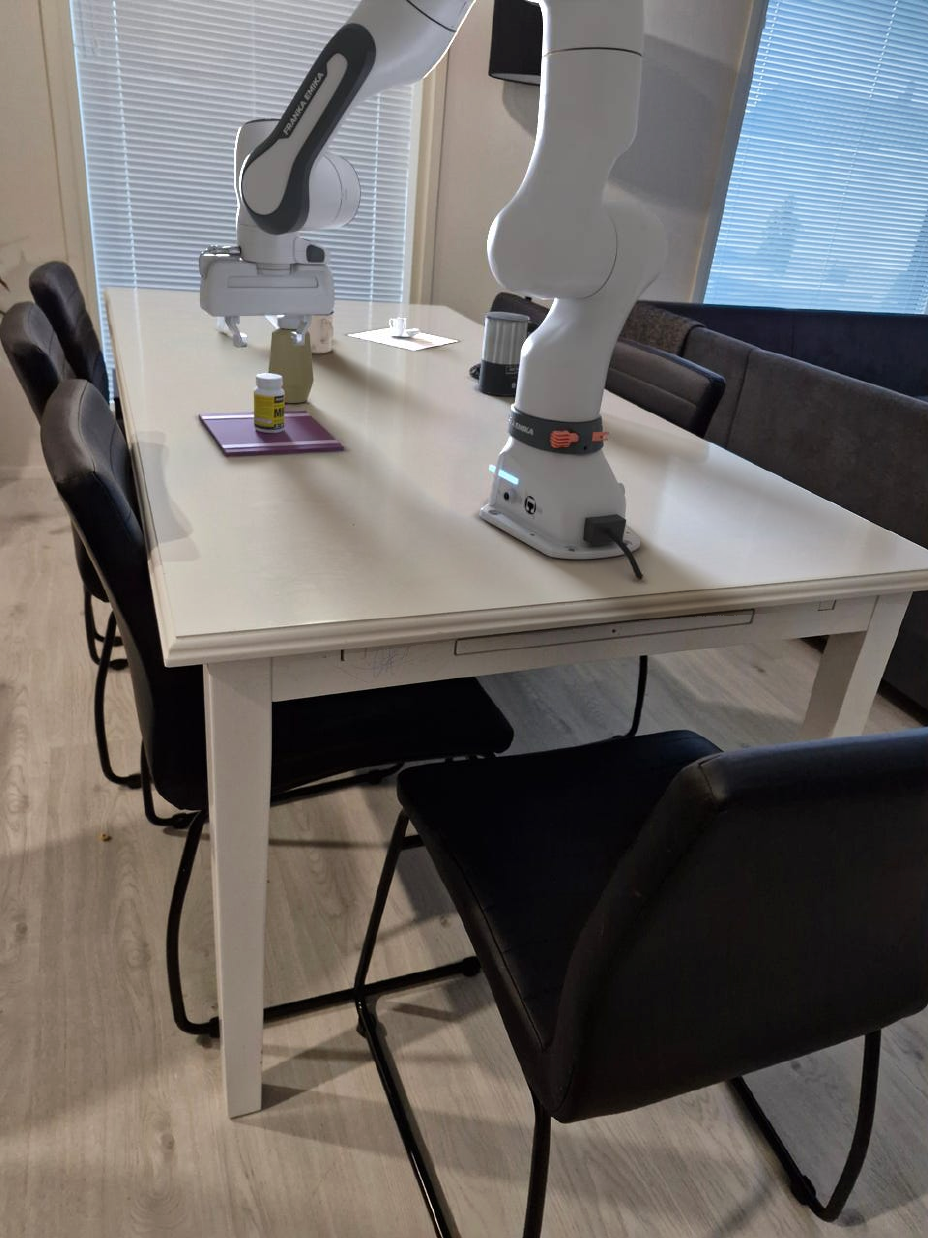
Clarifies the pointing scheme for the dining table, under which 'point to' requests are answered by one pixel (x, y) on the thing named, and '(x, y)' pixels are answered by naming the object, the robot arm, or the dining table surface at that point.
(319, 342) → the teacup with lid
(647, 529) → the dining table surface
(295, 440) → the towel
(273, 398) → the supplement bottle
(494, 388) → the milk frother
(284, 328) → the squeeze bottle
